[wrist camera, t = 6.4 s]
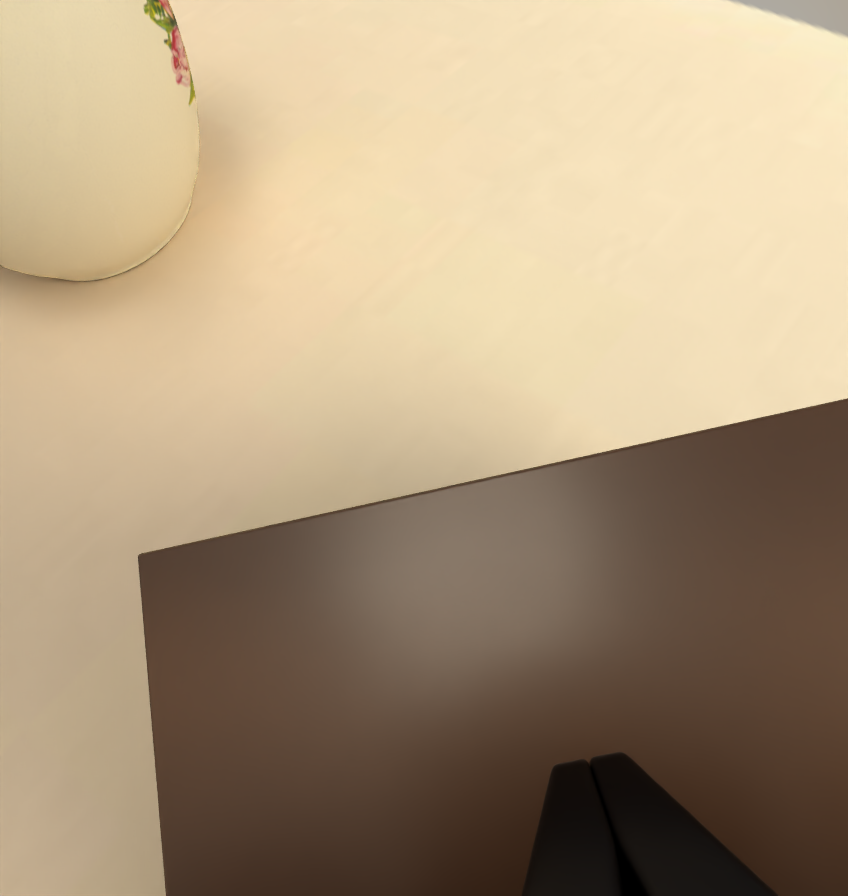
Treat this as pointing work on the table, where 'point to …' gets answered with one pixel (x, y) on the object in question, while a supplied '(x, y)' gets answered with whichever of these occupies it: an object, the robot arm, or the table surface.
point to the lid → (511, 668)
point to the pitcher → (92, 135)
